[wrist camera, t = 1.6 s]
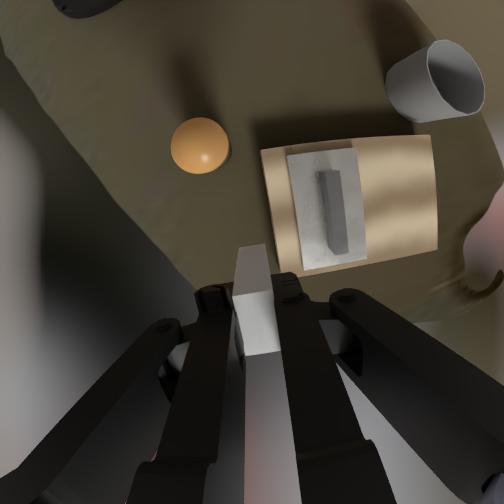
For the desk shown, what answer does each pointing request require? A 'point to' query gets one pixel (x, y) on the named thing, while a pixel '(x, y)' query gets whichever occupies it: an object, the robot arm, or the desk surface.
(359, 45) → the desk surface
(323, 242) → the shutter
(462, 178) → the desk surface
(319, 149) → the socket board
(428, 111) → the cup
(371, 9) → the desk surface
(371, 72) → the desk surface
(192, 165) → the orange grey cylinder
